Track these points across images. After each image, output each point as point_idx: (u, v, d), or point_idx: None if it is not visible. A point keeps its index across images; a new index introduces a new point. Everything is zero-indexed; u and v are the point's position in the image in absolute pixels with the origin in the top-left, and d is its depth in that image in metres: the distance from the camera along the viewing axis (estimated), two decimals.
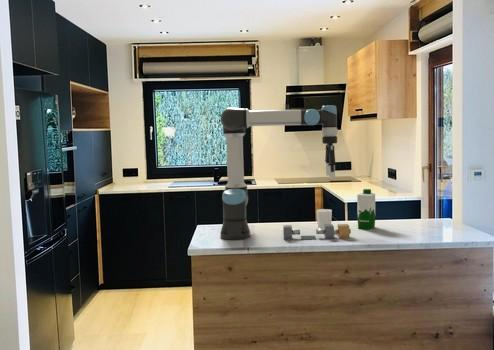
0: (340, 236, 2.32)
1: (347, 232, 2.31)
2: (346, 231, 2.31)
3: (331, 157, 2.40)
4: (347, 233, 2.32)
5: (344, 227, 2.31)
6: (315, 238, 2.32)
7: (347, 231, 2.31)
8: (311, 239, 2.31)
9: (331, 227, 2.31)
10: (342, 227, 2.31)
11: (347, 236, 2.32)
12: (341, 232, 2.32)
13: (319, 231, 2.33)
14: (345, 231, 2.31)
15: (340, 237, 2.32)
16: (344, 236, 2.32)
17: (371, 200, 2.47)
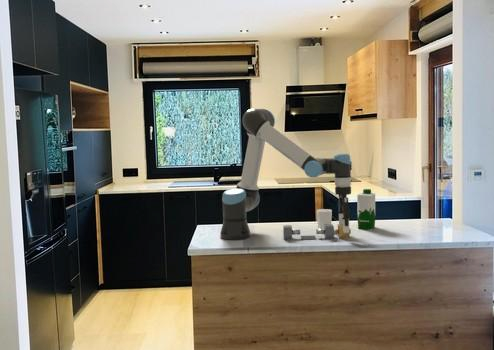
0: (340, 236, 2.32)
1: None
2: None
3: (345, 210, 2.24)
4: (347, 233, 2.32)
5: None
6: (315, 238, 2.32)
7: None
8: (311, 239, 2.31)
9: (331, 227, 2.31)
10: (342, 227, 2.31)
11: (347, 236, 2.32)
12: (341, 232, 2.32)
13: (319, 231, 2.33)
14: None
15: (340, 237, 2.32)
16: (344, 236, 2.32)
17: (371, 200, 2.47)
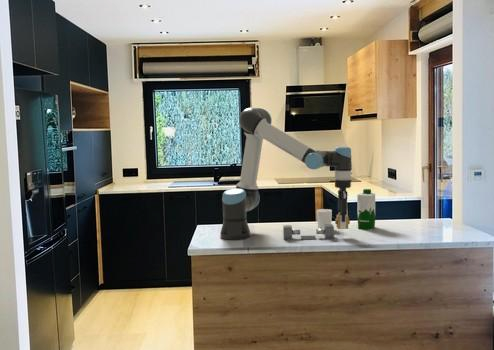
0: (339, 226, 2.32)
1: (346, 222, 2.31)
2: None
3: (343, 207, 2.27)
4: (346, 223, 2.31)
5: None
6: (315, 238, 2.32)
7: (346, 221, 2.31)
8: (311, 239, 2.31)
9: (331, 227, 2.31)
10: None
11: (346, 226, 2.31)
12: None
13: (319, 231, 2.33)
14: None
15: (339, 227, 2.32)
16: None
17: (371, 200, 2.47)
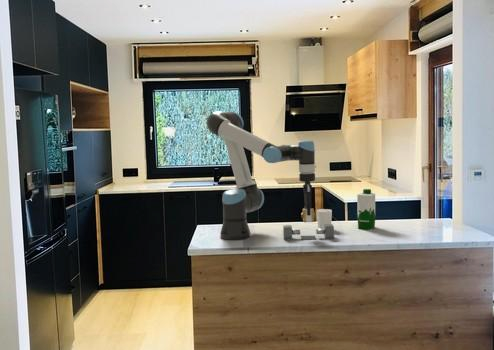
0: (305, 220, 2.32)
1: (312, 216, 2.31)
2: None
3: (307, 200, 2.27)
4: (312, 217, 2.31)
5: None
6: (315, 238, 2.32)
7: (312, 215, 2.31)
8: (311, 239, 2.31)
9: (331, 227, 2.31)
10: None
11: (312, 220, 2.32)
12: None
13: (319, 231, 2.33)
14: None
15: (305, 221, 2.32)
16: None
17: (371, 200, 2.47)
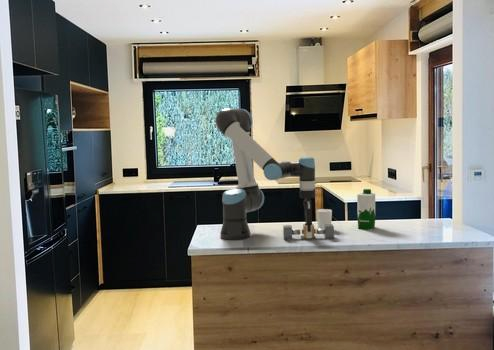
0: (305, 236, 2.33)
1: (312, 232, 2.32)
2: None
3: (308, 217, 2.28)
4: (312, 233, 2.32)
5: None
6: (315, 238, 2.32)
7: (312, 231, 2.32)
8: (311, 239, 2.31)
9: (331, 227, 2.31)
10: None
11: (312, 236, 2.32)
12: None
13: (319, 231, 2.33)
14: None
15: (305, 237, 2.33)
16: None
17: (371, 200, 2.47)
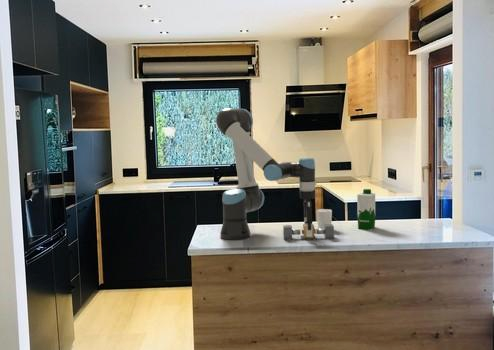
0: (305, 236, 2.33)
1: (312, 232, 2.32)
2: None
3: (308, 215, 2.25)
4: (312, 233, 2.32)
5: None
6: (315, 238, 2.32)
7: (312, 231, 2.32)
8: (311, 239, 2.31)
9: (331, 227, 2.31)
10: None
11: (312, 236, 2.32)
12: None
13: (319, 231, 2.33)
14: None
15: (305, 237, 2.33)
16: None
17: (371, 200, 2.47)
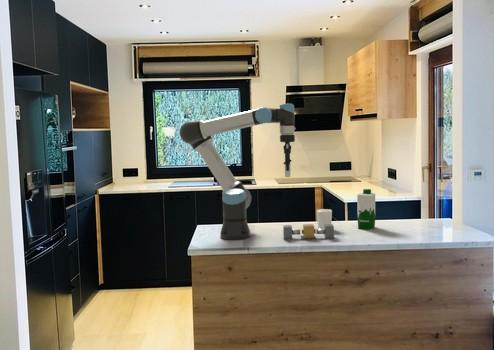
0: (305, 236, 2.33)
1: (312, 232, 2.32)
2: (311, 231, 2.32)
3: (286, 156, 2.39)
4: (312, 233, 2.32)
5: (309, 227, 2.32)
6: (315, 238, 2.32)
7: (312, 231, 2.32)
8: (311, 239, 2.31)
9: (331, 227, 2.31)
10: (307, 227, 2.32)
11: (312, 236, 2.32)
12: (306, 232, 2.32)
13: (319, 231, 2.33)
14: (310, 231, 2.32)
15: (305, 237, 2.33)
16: (309, 236, 2.32)
17: (371, 200, 2.47)
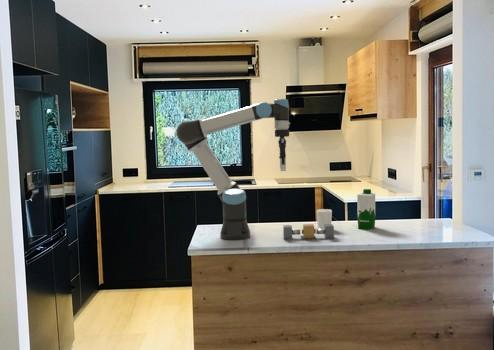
0: (305, 236, 2.33)
1: (312, 232, 2.32)
2: (311, 231, 2.32)
3: (281, 150, 2.43)
4: (312, 233, 2.32)
5: (309, 227, 2.32)
6: (315, 238, 2.32)
7: (312, 231, 2.32)
8: (311, 239, 2.31)
9: (331, 227, 2.31)
10: (307, 227, 2.32)
11: (312, 236, 2.32)
12: (306, 232, 2.32)
13: (319, 231, 2.33)
14: (310, 231, 2.32)
15: (305, 237, 2.33)
16: (309, 236, 2.32)
17: (371, 200, 2.47)
